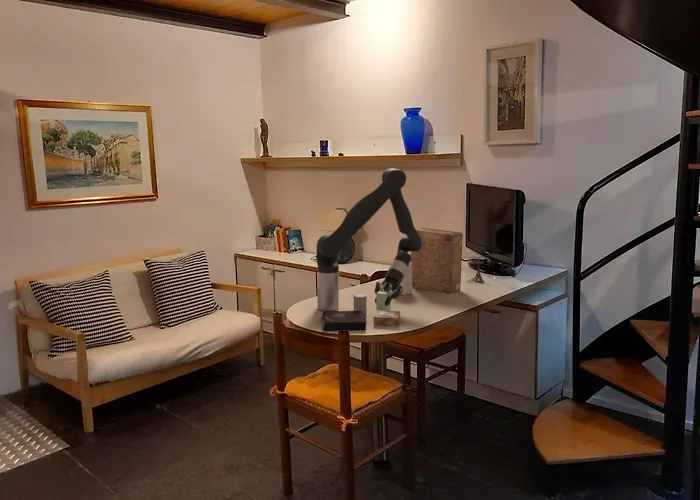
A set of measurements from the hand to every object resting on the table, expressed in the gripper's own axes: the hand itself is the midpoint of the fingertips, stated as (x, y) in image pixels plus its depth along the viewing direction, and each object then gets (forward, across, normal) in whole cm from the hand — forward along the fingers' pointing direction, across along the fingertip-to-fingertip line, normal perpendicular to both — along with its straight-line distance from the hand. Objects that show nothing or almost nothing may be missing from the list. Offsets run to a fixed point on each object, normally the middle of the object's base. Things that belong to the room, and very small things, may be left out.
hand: (381, 303), depth 264 cm
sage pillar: (+2, 0, +4) cm, 5 cm away
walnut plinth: (+10, +10, -4) cm, 15 cm away
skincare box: (-23, -13, +30) cm, 40 cm away
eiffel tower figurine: (-57, +6, +64) cm, 86 cm away
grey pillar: (+9, -5, -3) cm, 11 cm away
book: (-37, -5, +43) cm, 57 cm away
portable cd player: (+20, -3, -13) cm, 24 cm away
